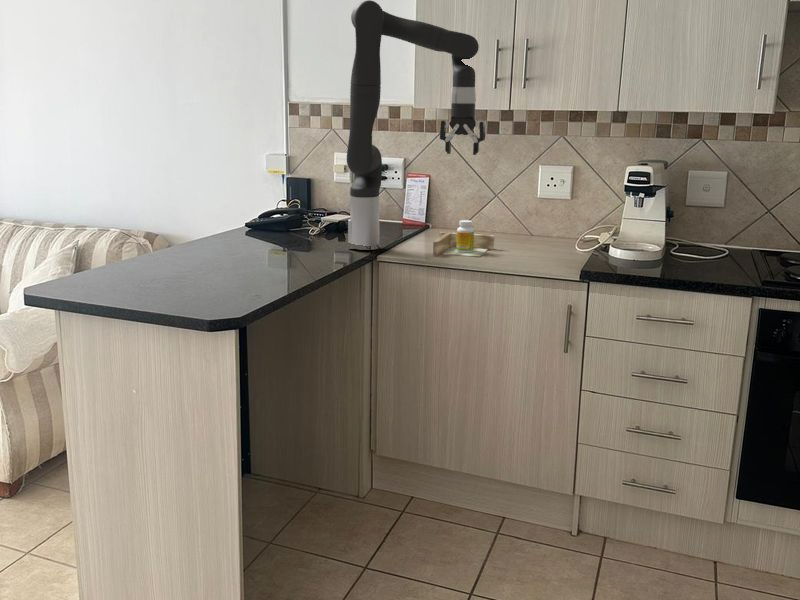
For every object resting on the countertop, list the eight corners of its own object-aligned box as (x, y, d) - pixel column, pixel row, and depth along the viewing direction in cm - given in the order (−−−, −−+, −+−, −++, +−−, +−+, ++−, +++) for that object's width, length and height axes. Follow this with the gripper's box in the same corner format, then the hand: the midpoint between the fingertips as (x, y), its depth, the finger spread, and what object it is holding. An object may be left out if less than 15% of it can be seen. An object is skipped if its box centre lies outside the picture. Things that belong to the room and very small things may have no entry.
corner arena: (426, 255, 248) (426, 241, 247) (440, 245, 264) (440, 231, 263) (482, 259, 243) (483, 245, 242) (493, 248, 259) (494, 235, 257)
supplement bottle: (472, 253, 250) (473, 222, 248) (455, 252, 251) (456, 222, 249) (474, 249, 255) (475, 220, 253) (457, 249, 256) (458, 219, 254)
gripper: (438, 101, 248) (437, 154, 252) (483, 102, 244) (481, 156, 248) (444, 101, 255) (443, 152, 259) (488, 102, 251) (486, 154, 255)
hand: (461, 154), depth 254 cm, fingers open, 8 cm apart
